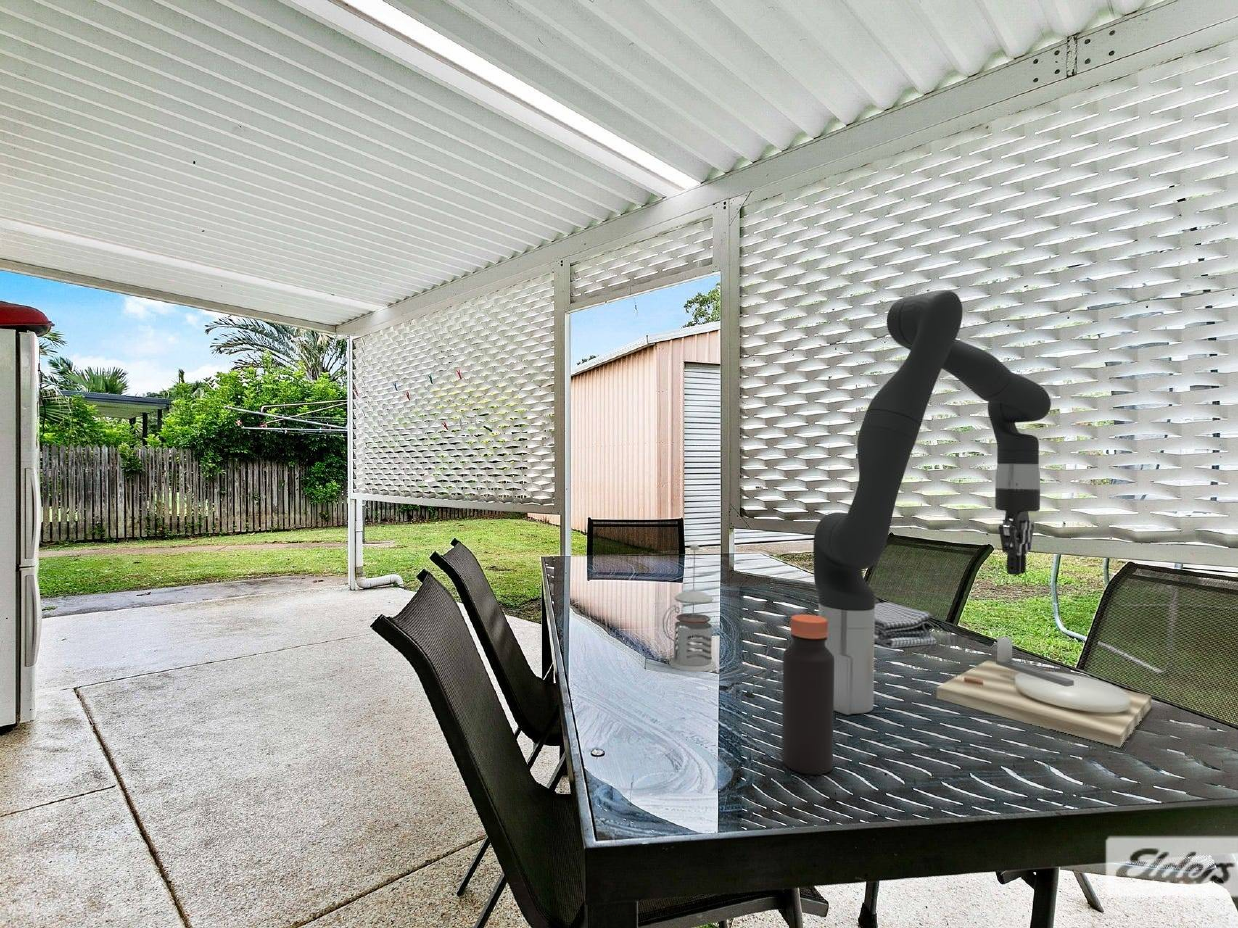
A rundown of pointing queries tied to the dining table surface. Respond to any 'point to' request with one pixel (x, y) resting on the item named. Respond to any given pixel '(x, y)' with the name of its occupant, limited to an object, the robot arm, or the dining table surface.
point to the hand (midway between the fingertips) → (1016, 573)
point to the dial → (1062, 686)
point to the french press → (692, 632)
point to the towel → (901, 626)
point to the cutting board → (1039, 705)
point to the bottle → (808, 698)
